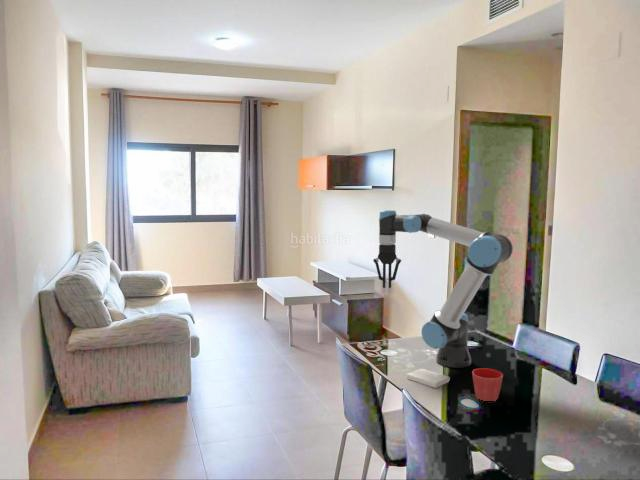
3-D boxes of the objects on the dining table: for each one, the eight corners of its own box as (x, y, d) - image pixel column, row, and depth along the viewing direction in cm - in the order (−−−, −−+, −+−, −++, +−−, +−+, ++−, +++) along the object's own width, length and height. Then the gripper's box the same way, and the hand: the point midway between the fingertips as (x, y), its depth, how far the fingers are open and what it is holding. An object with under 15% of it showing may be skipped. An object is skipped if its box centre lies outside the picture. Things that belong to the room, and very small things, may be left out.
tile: (420, 368, 216) (449, 376, 206) (420, 373, 216) (449, 382, 206) (406, 374, 209) (435, 383, 199) (406, 379, 209) (435, 388, 199)
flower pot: (504, 405, 183) (505, 379, 182) (472, 402, 185) (473, 376, 184) (500, 393, 193) (501, 369, 192) (470, 391, 195) (470, 367, 194)
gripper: (401, 243, 236) (400, 293, 238) (373, 243, 237) (372, 293, 239) (402, 244, 228) (401, 296, 230) (373, 244, 229) (372, 296, 232)
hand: (386, 294), depth 235 cm, fingers closed
